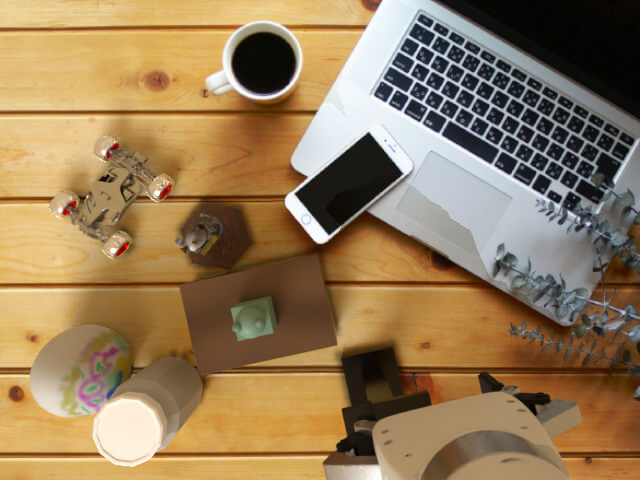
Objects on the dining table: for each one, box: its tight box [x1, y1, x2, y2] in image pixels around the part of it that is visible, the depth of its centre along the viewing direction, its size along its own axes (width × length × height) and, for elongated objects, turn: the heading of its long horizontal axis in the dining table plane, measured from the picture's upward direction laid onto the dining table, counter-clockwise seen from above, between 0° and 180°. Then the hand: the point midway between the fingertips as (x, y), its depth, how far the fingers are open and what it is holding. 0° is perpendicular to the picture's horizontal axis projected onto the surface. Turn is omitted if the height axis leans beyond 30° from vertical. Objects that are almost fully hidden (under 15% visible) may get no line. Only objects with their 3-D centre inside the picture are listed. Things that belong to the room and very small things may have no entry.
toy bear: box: [231, 296, 278, 341], centre depth 63 cm, size 4×4×9 cm
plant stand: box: [340, 344, 433, 437], centre depth 65 cm, size 9×9×26 cm
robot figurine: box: [173, 201, 253, 271], centre depth 72 cm, size 11×9×12 cm
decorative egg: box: [29, 324, 134, 419], centre depth 71 cm, size 12×12×15 cm
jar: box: [91, 356, 204, 468], centre depth 70 cm, size 10×10×18 cm
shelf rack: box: [178, 251, 339, 377], centre depth 73 cm, size 12×18×11 cm, turn 103°
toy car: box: [48, 131, 176, 260], centre depth 76 cm, size 15×12×5 cm
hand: (427, 404), depth 42 cm, fingers open, 9 cm apart
